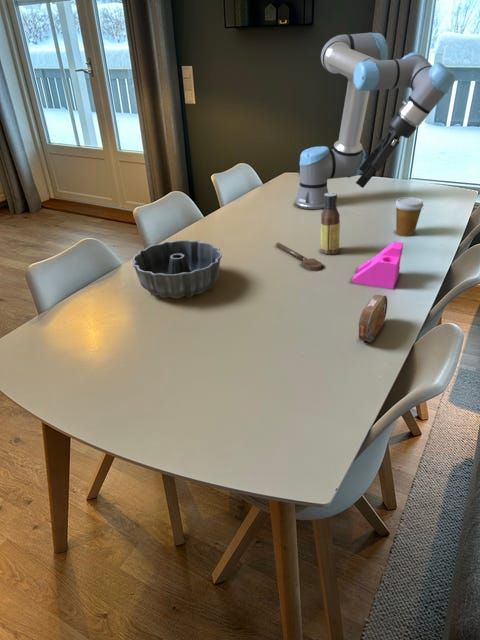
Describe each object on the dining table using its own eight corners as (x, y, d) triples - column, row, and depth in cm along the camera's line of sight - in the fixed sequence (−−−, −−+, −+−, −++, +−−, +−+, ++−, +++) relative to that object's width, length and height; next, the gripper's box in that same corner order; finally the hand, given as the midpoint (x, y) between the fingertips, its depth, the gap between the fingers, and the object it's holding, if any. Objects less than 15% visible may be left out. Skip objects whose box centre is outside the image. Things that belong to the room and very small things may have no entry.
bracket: (398, 274, 143) (403, 242, 138) (393, 288, 135) (397, 256, 130) (359, 268, 148) (362, 237, 142) (351, 282, 140) (354, 250, 134)
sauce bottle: (340, 248, 162) (344, 191, 151) (337, 256, 157) (341, 197, 146) (321, 247, 164) (323, 190, 153) (317, 254, 159) (320, 196, 148)
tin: (367, 348, 110) (370, 318, 106) (354, 345, 112) (357, 315, 108) (386, 319, 121) (390, 290, 117) (374, 316, 123) (378, 287, 118)
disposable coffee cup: (415, 228, 175) (420, 196, 168) (421, 237, 167) (426, 204, 160) (389, 228, 176) (393, 196, 169) (394, 237, 168) (398, 205, 161)
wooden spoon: (270, 247, 165) (270, 243, 164) (282, 244, 167) (282, 240, 166) (311, 271, 147) (311, 267, 146) (324, 267, 149) (325, 263, 148)
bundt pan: (187, 260, 159) (184, 232, 154) (241, 283, 143) (240, 252, 137) (120, 287, 144) (114, 257, 139) (173, 316, 127) (168, 284, 122)
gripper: (397, 102, 145) (354, 159, 159) (397, 122, 126) (347, 184, 139) (416, 116, 146) (372, 171, 159) (419, 138, 127) (368, 199, 140)
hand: (360, 177), depth 149 cm, fingers open, 13 cm apart
